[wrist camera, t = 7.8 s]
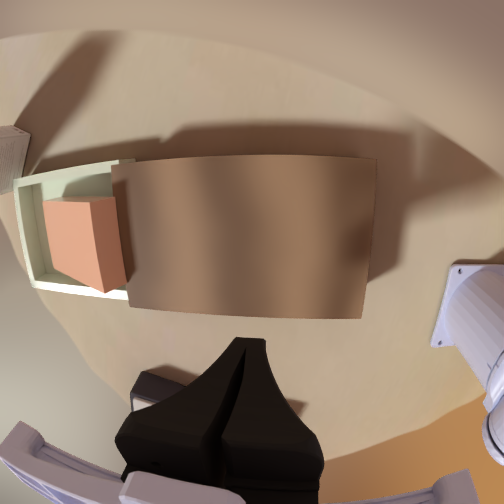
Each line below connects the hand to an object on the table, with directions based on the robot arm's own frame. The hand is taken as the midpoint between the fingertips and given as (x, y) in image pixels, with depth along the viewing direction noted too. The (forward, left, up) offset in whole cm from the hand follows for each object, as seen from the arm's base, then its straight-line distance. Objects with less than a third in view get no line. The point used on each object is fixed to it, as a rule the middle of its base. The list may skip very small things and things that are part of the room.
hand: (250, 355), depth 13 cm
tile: (+13, -3, -8) cm, 16 cm away
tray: (+16, -4, -10) cm, 19 cm away
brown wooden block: (+1, -4, -10) cm, 11 cm away
